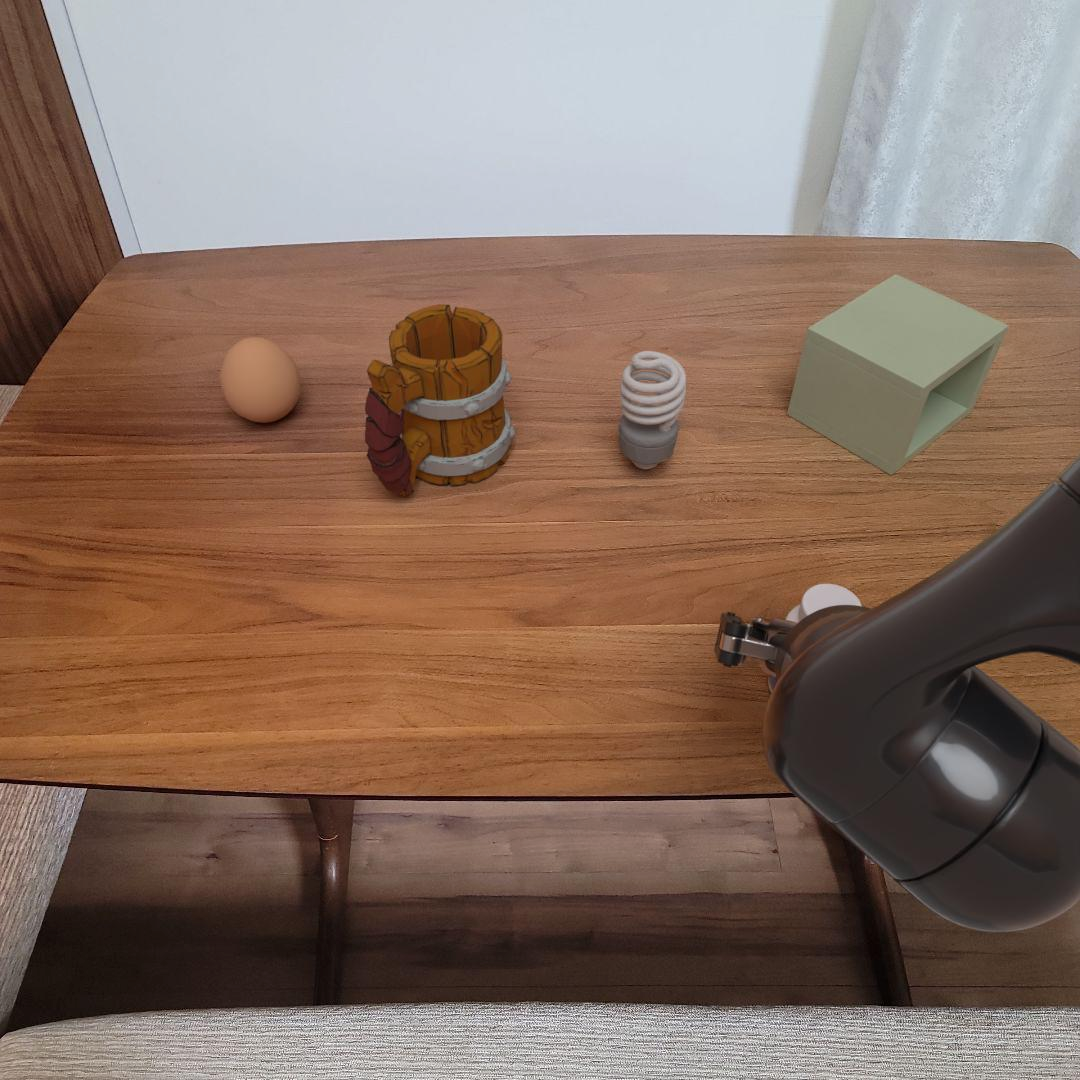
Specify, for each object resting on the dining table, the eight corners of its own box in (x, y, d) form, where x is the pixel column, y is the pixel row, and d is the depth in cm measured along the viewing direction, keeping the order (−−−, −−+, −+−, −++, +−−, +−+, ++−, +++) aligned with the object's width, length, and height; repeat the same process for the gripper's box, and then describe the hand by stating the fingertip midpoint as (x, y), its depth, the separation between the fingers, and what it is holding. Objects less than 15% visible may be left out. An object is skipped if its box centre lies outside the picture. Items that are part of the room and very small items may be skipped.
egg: (295, 441, 89) (277, 368, 82) (221, 436, 89) (197, 363, 83) (316, 394, 94) (300, 321, 87) (245, 390, 94) (224, 317, 88)
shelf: (972, 411, 91) (1009, 325, 84) (891, 475, 85) (923, 388, 78) (869, 358, 98) (895, 273, 90) (786, 414, 91) (807, 327, 84)
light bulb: (602, 470, 86) (609, 363, 77) (635, 439, 89) (645, 332, 80) (654, 496, 83) (666, 388, 75) (686, 462, 86) (702, 355, 78)
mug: (536, 437, 89) (535, 300, 78) (430, 541, 80) (413, 402, 69) (446, 398, 93) (433, 264, 82) (336, 493, 84) (305, 355, 73)
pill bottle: (814, 650, 71) (844, 566, 64) (854, 705, 68) (891, 623, 61) (753, 671, 70) (776, 587, 63) (791, 728, 67) (820, 647, 60)
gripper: (1025, 644, 45) (947, 615, 61) (730, 582, 47) (729, 570, 63) (992, 794, 45) (922, 726, 61) (700, 725, 48) (707, 677, 64)
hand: (824, 647), depth 62 cm, fingers open, 8 cm apart
